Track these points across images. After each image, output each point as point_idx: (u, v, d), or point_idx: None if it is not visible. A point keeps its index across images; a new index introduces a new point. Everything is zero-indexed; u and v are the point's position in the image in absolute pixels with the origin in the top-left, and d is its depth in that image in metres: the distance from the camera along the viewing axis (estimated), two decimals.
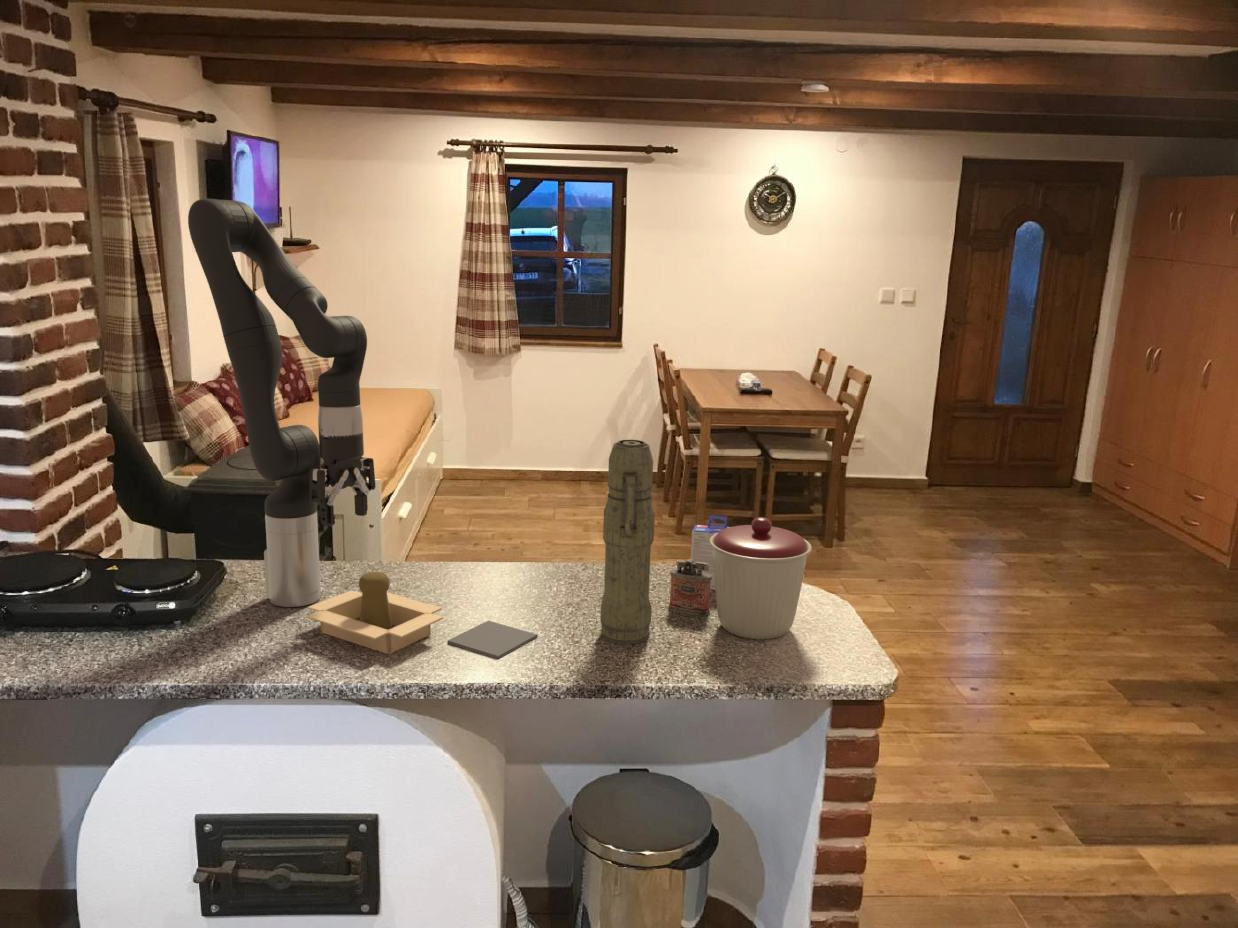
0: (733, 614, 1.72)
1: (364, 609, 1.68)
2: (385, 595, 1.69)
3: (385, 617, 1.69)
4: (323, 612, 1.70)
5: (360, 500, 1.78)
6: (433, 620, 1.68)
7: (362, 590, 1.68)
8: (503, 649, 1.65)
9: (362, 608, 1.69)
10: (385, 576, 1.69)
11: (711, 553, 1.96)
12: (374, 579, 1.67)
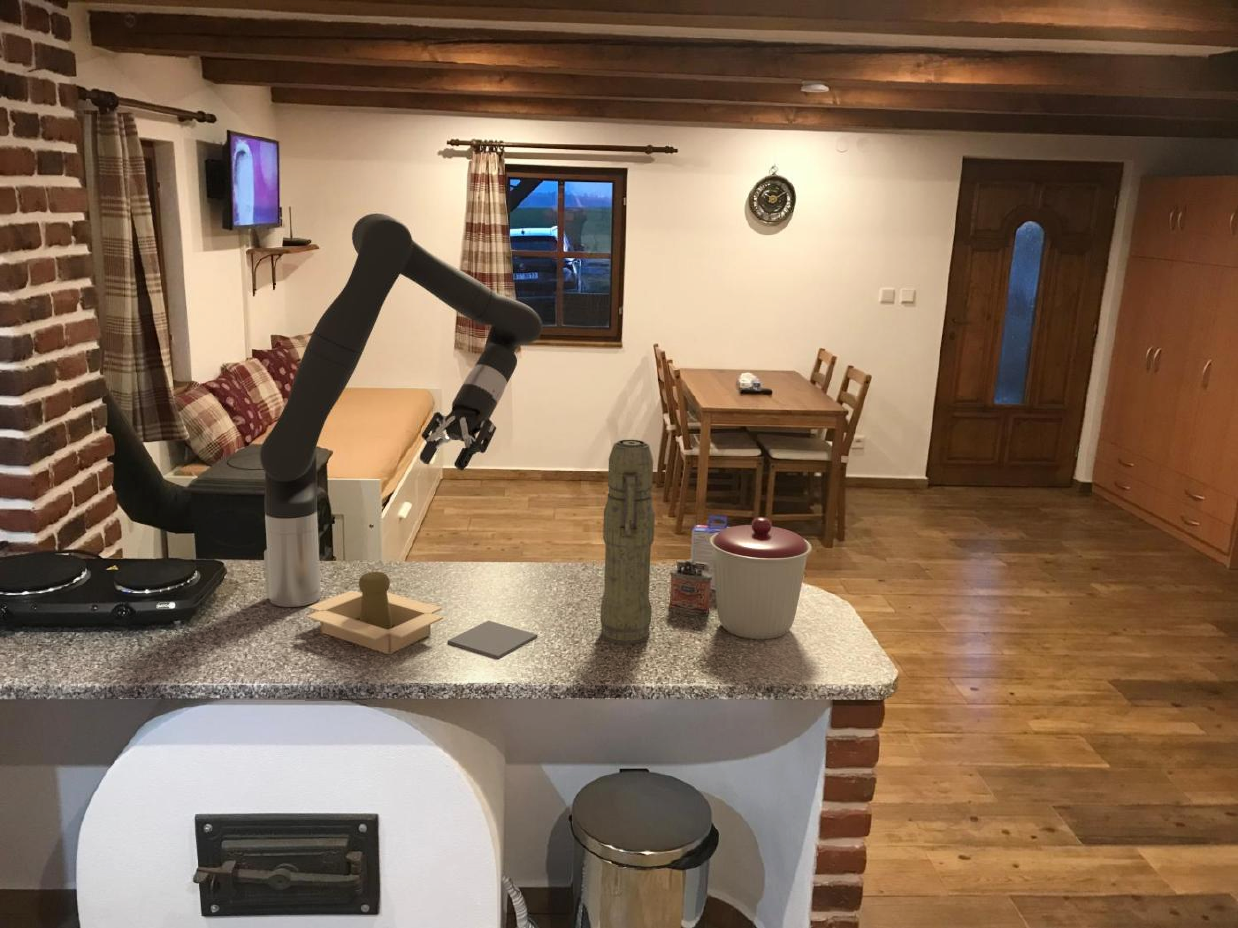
0: (733, 614, 1.72)
1: (364, 609, 1.68)
2: (385, 595, 1.69)
3: (385, 617, 1.69)
4: (323, 612, 1.70)
5: (433, 450, 1.83)
6: (433, 620, 1.68)
7: (362, 590, 1.68)
8: (503, 649, 1.65)
9: (362, 608, 1.69)
10: (385, 576, 1.69)
11: (711, 553, 1.96)
12: (374, 579, 1.67)
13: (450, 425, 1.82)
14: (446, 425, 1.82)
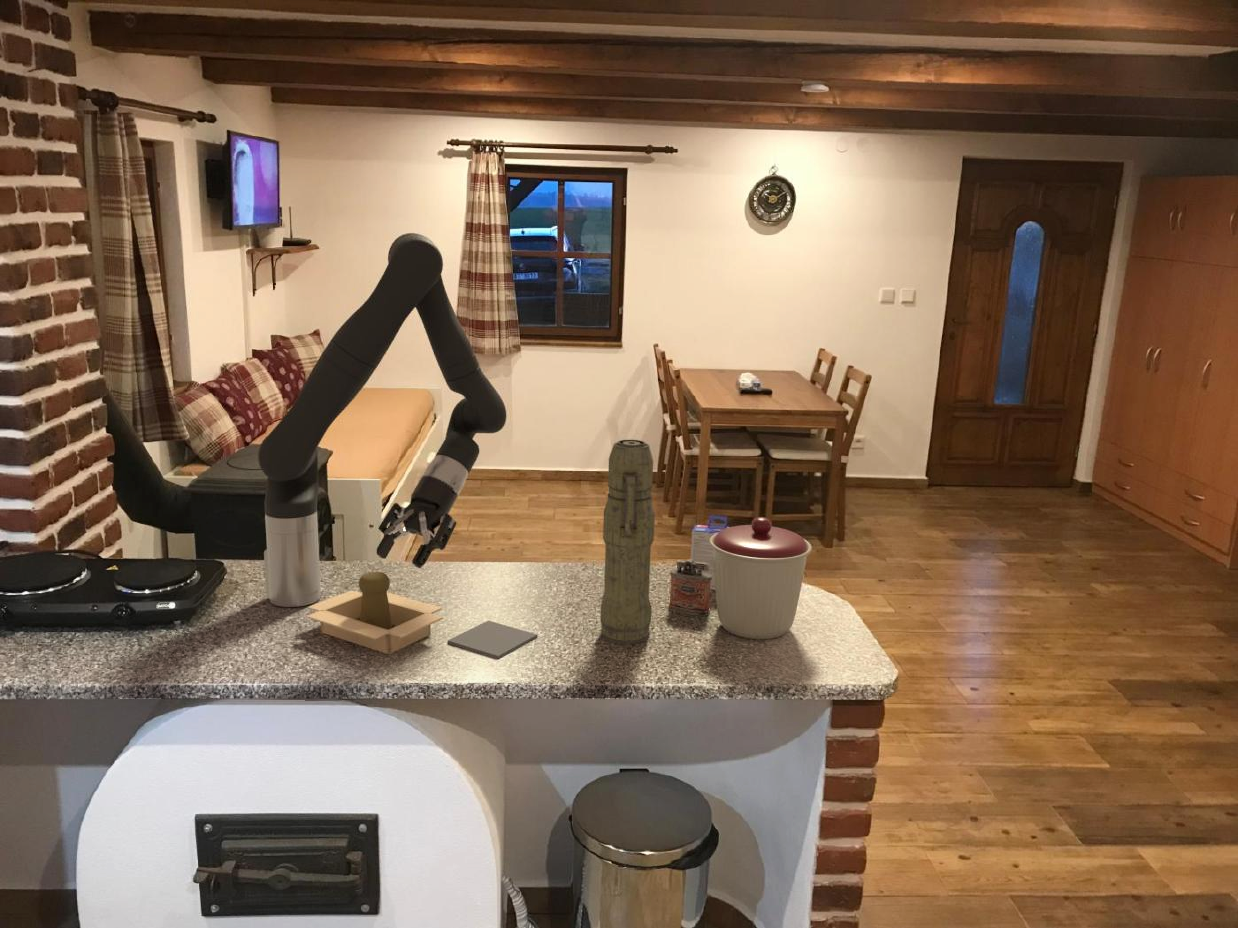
0: (733, 614, 1.72)
1: (364, 609, 1.68)
2: (385, 595, 1.69)
3: (385, 616, 1.69)
4: (323, 612, 1.70)
5: (390, 544, 1.77)
6: (433, 620, 1.68)
7: (362, 590, 1.68)
8: (503, 649, 1.65)
9: (362, 608, 1.69)
10: (385, 576, 1.69)
11: (711, 553, 1.96)
12: (374, 579, 1.67)
13: (408, 518, 1.77)
14: (404, 518, 1.77)
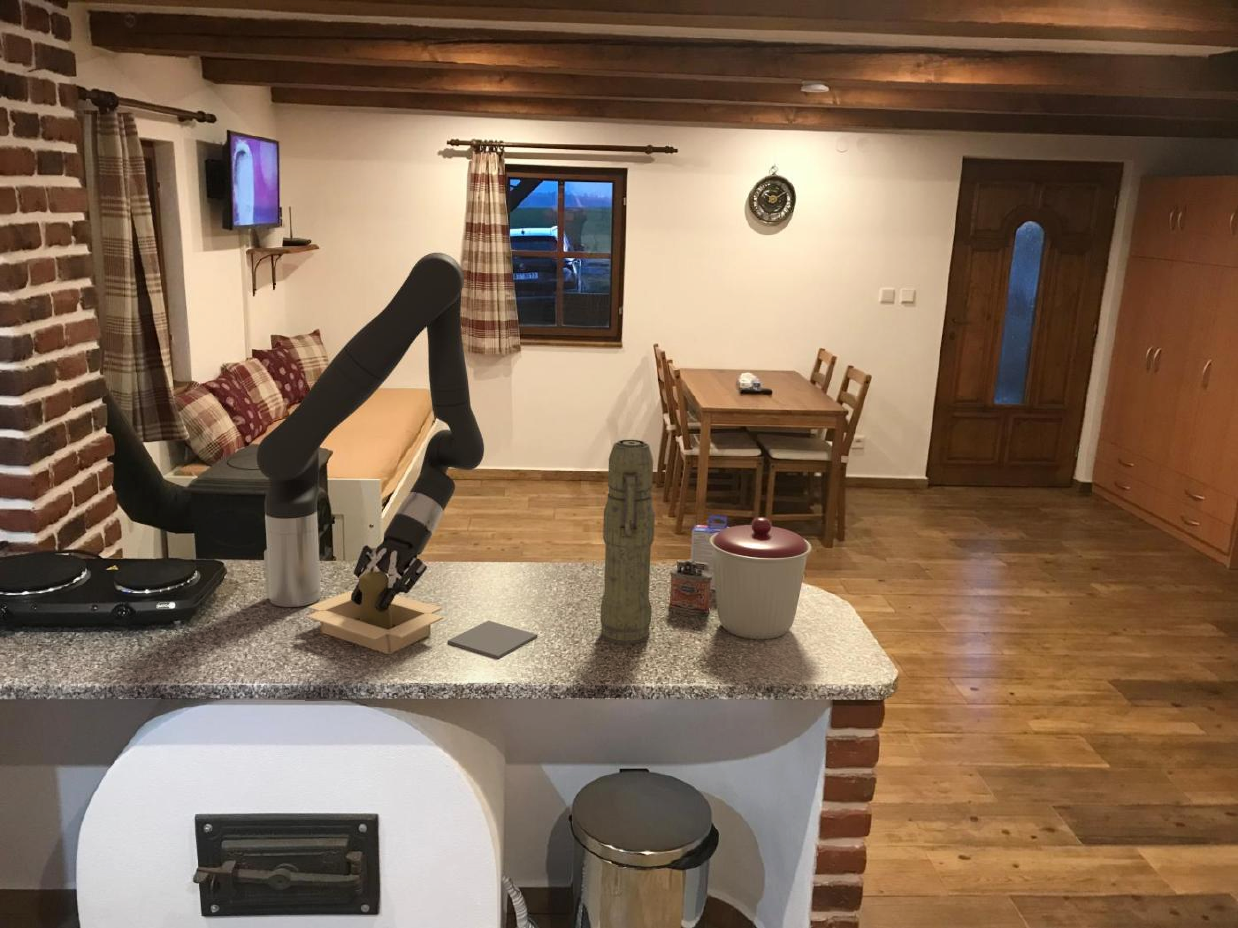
0: (733, 614, 1.72)
1: (364, 609, 1.68)
2: None
3: (385, 616, 1.69)
4: (323, 612, 1.70)
5: None
6: (433, 620, 1.68)
7: (362, 590, 1.68)
8: (503, 649, 1.65)
9: (362, 608, 1.69)
10: (385, 576, 1.69)
11: (711, 553, 1.96)
12: (373, 579, 1.67)
13: (382, 558, 1.72)
14: (378, 559, 1.72)
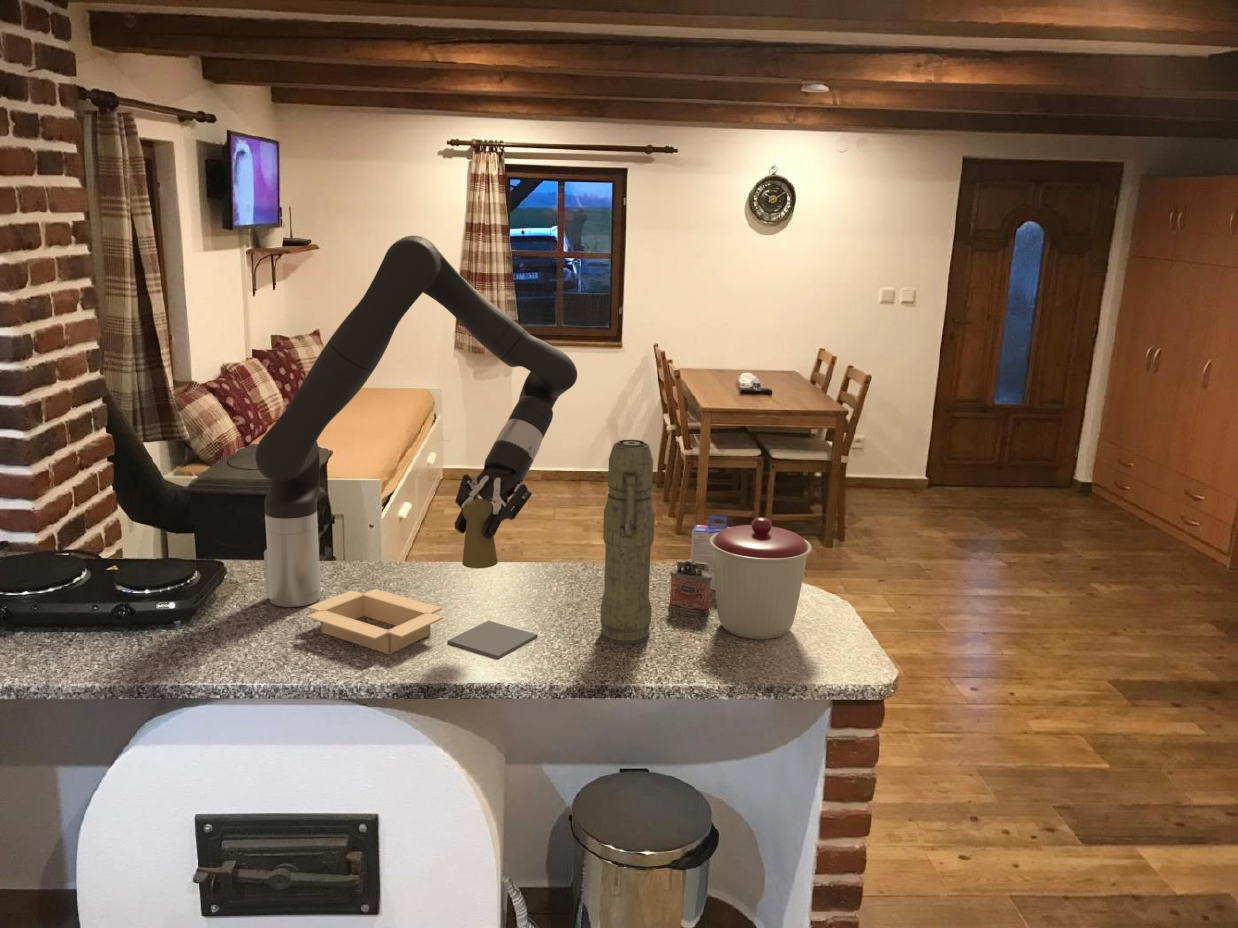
0: (733, 614, 1.72)
1: (469, 537, 1.64)
2: None
3: (490, 544, 1.65)
4: (323, 612, 1.70)
5: None
6: (433, 620, 1.68)
7: (467, 517, 1.63)
8: (503, 649, 1.65)
9: (467, 536, 1.65)
10: (489, 502, 1.65)
11: (711, 553, 1.96)
12: (479, 505, 1.63)
13: (485, 486, 1.67)
14: (480, 487, 1.67)
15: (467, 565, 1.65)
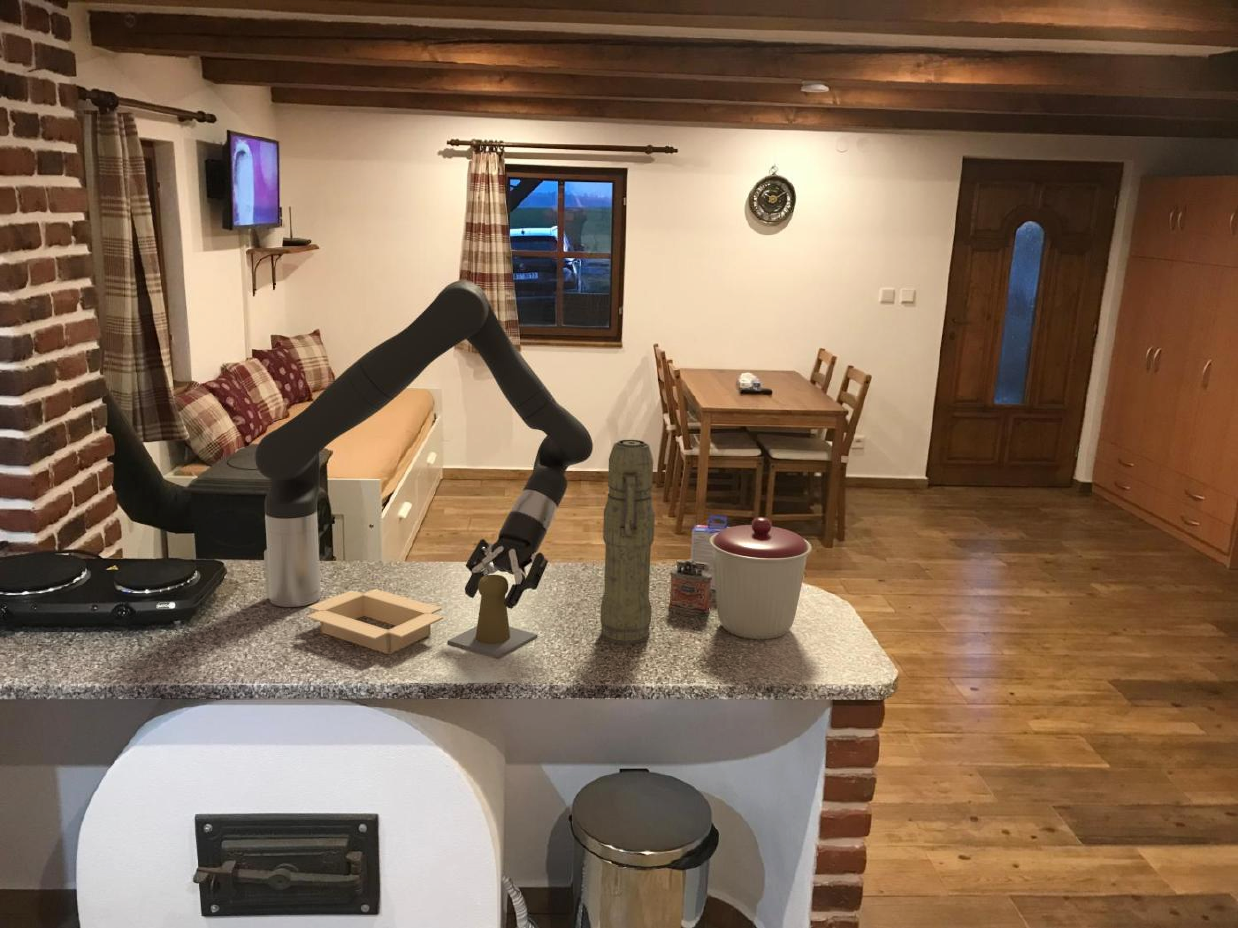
0: (733, 614, 1.72)
1: (483, 612, 1.67)
2: (504, 598, 1.68)
3: (504, 620, 1.68)
4: (323, 612, 1.70)
5: (478, 582, 1.71)
6: (433, 620, 1.68)
7: (482, 593, 1.66)
8: (503, 649, 1.65)
9: (481, 611, 1.68)
10: (504, 579, 1.68)
11: (711, 553, 1.96)
12: (494, 582, 1.66)
13: (498, 556, 1.70)
14: (493, 556, 1.70)
15: (481, 640, 1.68)
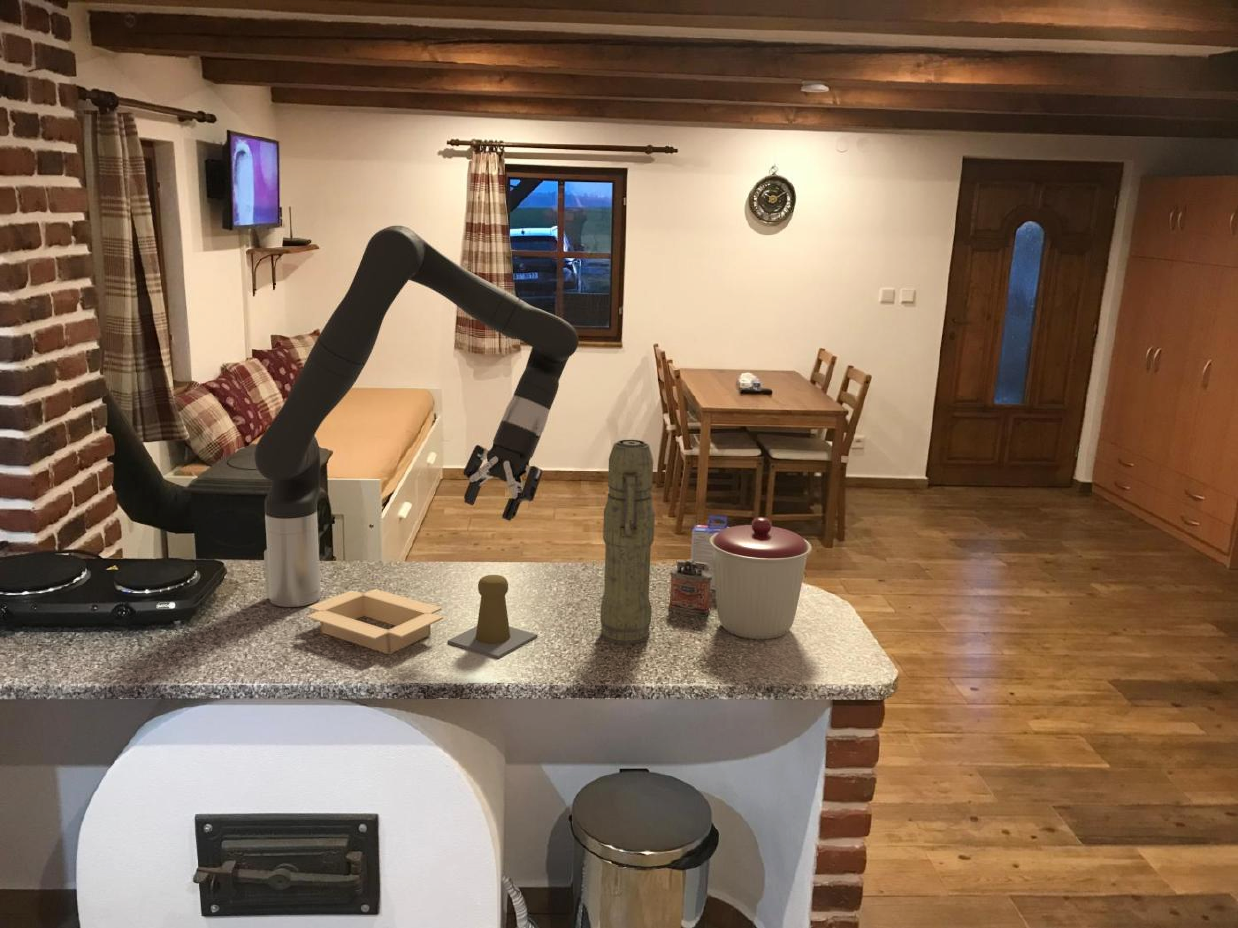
0: (733, 614, 1.72)
1: (483, 612, 1.67)
2: (504, 598, 1.68)
3: (504, 620, 1.68)
4: (323, 612, 1.70)
5: (476, 489, 1.75)
6: (433, 620, 1.68)
7: (482, 593, 1.66)
8: (503, 649, 1.65)
9: (481, 611, 1.68)
10: (504, 579, 1.68)
11: (711, 553, 1.96)
12: (494, 582, 1.66)
13: (493, 466, 1.72)
14: (489, 466, 1.72)
15: (481, 640, 1.68)
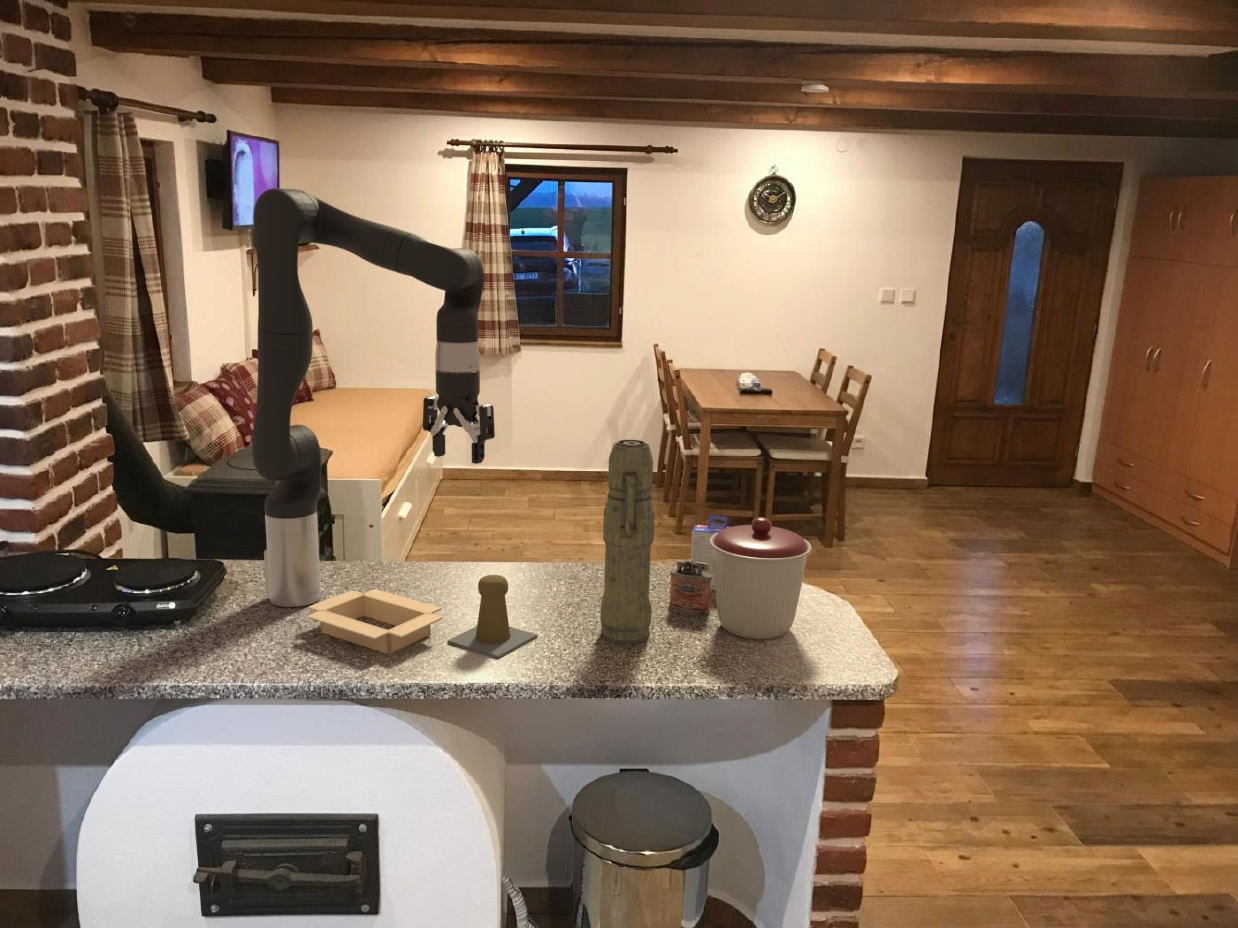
0: (733, 614, 1.72)
1: (483, 612, 1.67)
2: (504, 598, 1.68)
3: (504, 620, 1.68)
4: (323, 612, 1.70)
5: (442, 440, 1.73)
6: (433, 620, 1.68)
7: (482, 593, 1.66)
8: (503, 649, 1.65)
9: (481, 611, 1.68)
10: (504, 579, 1.68)
11: (711, 553, 1.96)
12: (494, 582, 1.66)
13: (446, 416, 1.69)
14: (442, 417, 1.69)
15: (481, 640, 1.68)
